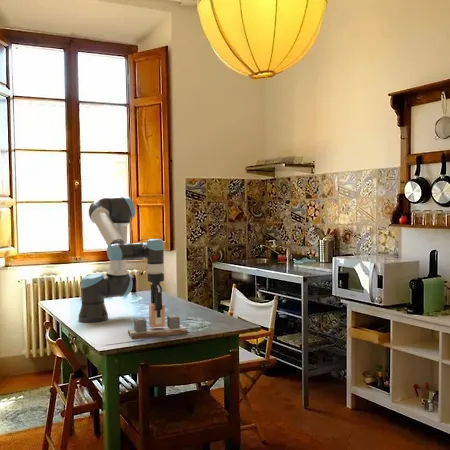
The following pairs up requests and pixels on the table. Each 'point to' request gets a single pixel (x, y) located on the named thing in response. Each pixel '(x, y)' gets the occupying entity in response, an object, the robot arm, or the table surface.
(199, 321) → the table surface
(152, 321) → the block
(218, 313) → the table surface
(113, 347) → the table surface
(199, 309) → the table surface
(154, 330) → the wooden fixture stand
